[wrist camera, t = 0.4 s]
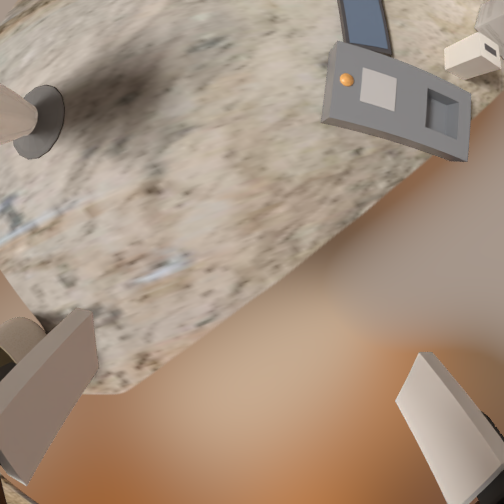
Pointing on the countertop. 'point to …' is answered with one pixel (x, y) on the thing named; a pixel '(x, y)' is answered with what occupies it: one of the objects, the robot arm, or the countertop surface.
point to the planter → (18, 339)
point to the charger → (472, 56)
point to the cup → (31, 119)
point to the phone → (364, 25)
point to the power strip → (396, 102)
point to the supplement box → (492, 22)
